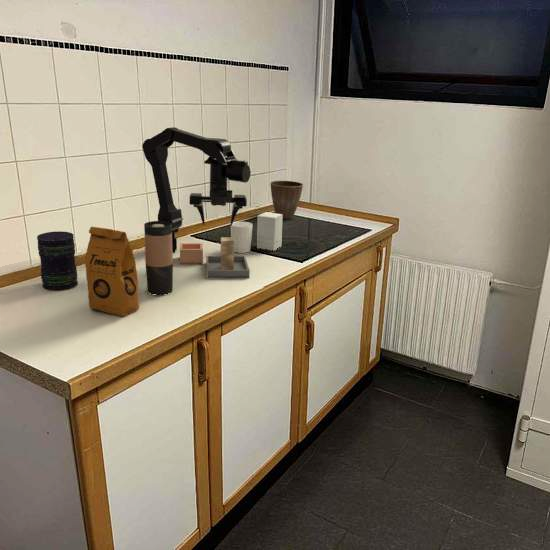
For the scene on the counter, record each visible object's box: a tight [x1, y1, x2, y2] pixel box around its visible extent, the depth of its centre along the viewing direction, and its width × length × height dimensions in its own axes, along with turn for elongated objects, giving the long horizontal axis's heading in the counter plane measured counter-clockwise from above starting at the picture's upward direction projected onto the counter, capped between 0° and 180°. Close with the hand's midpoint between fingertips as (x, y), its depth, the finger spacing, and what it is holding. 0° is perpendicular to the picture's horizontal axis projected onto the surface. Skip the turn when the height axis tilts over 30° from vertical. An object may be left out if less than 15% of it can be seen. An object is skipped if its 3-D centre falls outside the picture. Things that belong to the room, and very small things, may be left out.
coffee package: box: [84, 226, 140, 318], centre depth 138 cm, size 10×12×22 cm
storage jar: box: [36, 230, 79, 292], centre depth 154 cm, size 10×10×15 cm
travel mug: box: [143, 220, 174, 296], centre depth 152 cm, size 8×8×20 cm
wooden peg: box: [220, 236, 235, 270], centre depth 173 cm, size 4×4×10 cm
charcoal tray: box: [205, 255, 251, 279], centre depth 175 cm, size 13×15×2 cm
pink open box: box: [179, 242, 204, 265], centre depth 182 cm, size 8×8×5 cm
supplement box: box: [256, 211, 283, 252], centre depth 200 cm, size 7×7×13 cm
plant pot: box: [269, 180, 304, 220], centre depth 246 cm, size 15×15×16 cm
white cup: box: [230, 221, 253, 254], centre depth 195 cm, size 8×8×10 cm
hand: (217, 224), depth 180 cm, fingers open, 9 cm apart
